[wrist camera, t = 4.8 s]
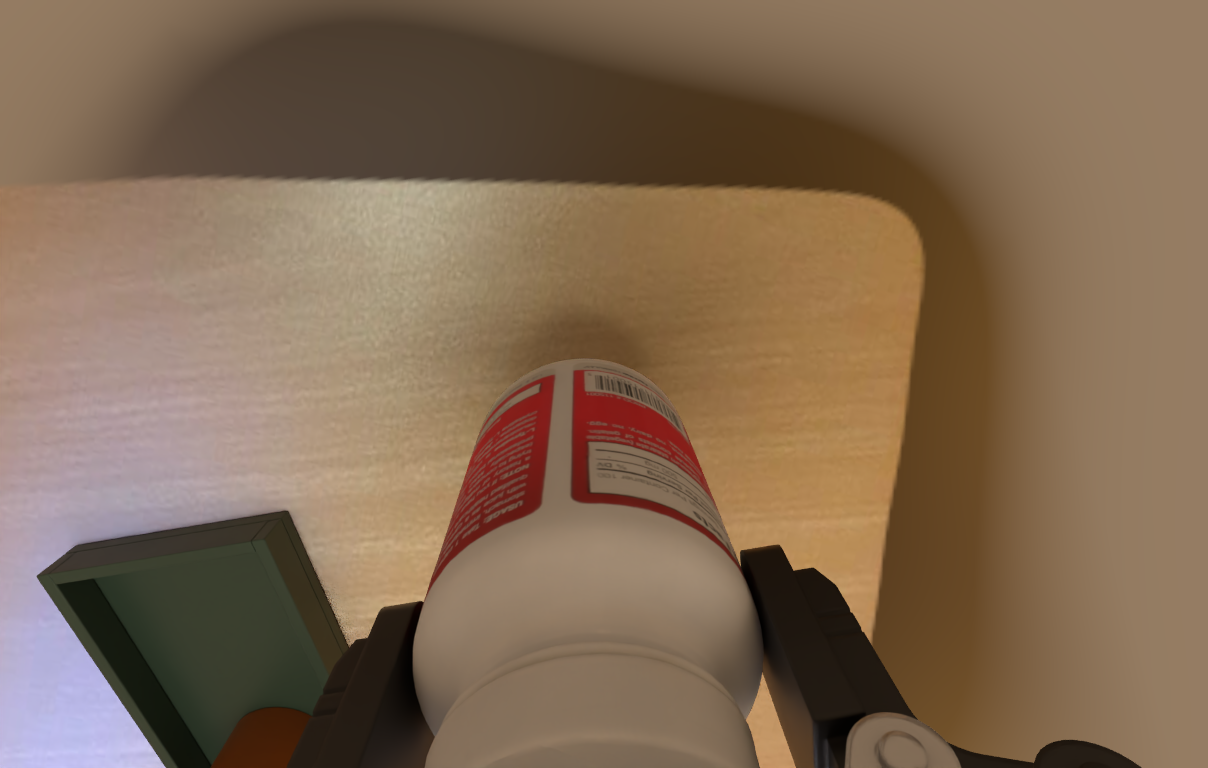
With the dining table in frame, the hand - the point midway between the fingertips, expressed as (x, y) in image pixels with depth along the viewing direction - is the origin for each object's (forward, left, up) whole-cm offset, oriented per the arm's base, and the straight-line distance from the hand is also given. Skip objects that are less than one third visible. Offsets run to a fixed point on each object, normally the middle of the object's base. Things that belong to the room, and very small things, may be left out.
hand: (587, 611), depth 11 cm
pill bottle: (0, 0, -7) cm, 7 cm away
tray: (-20, -18, -14) cm, 30 cm away
